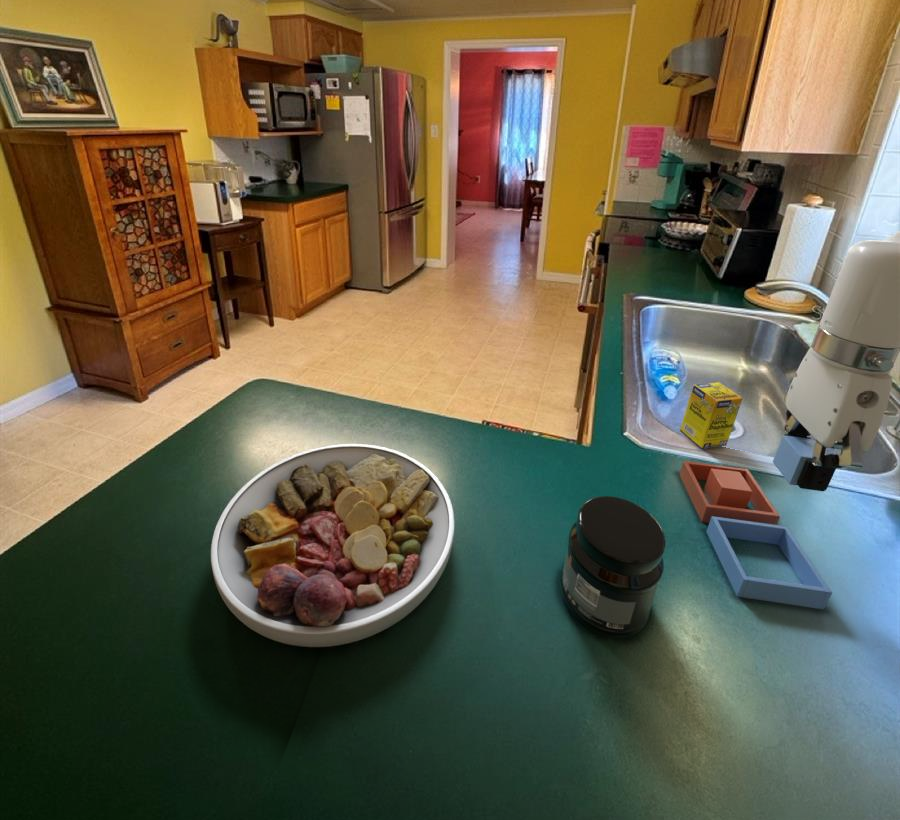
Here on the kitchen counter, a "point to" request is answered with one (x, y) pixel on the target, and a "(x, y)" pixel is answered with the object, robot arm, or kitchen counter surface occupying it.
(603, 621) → the supplement container
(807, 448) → the blue block
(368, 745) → the kitchen counter surface
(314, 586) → the bowl
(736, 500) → the terracotta block
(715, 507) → the terracotta bin
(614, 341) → the kitchen counter surface
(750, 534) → the blue bin
